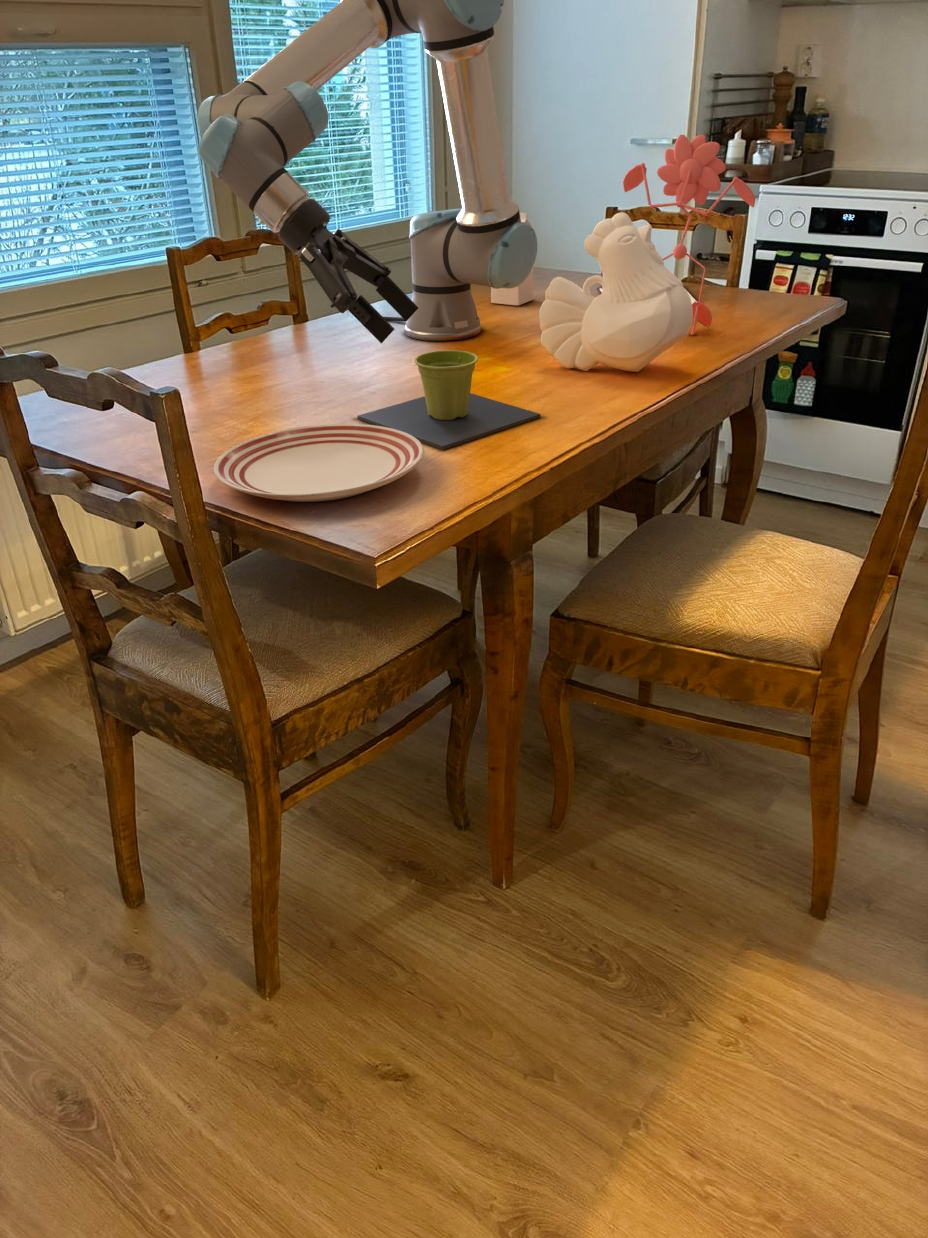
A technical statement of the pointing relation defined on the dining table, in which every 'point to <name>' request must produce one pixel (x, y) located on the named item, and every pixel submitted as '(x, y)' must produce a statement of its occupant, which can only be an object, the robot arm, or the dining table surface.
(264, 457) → the dinner plate
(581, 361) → the decorative rooster
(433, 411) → the plant pot
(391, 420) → the placemat
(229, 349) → the dining table surface
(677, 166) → the figurine
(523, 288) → the milk carton
